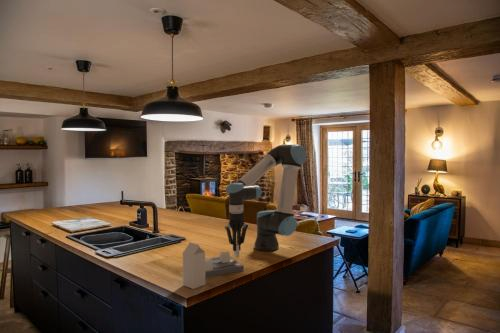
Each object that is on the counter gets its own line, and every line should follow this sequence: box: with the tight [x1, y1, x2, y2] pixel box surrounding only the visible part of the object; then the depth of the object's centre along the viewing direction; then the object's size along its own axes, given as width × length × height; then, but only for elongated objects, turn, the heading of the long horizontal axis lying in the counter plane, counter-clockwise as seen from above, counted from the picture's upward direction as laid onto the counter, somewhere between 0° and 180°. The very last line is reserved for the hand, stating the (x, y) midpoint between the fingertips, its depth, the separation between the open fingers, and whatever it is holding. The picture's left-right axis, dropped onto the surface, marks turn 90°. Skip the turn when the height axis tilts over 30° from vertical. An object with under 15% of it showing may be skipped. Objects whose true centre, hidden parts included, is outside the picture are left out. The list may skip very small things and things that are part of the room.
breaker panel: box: [205, 256, 245, 278], centre depth 181 cm, size 24×20×8 cm
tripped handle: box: [219, 250, 231, 263], centre depth 183 cm, size 4×4×5 cm
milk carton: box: [182, 241, 206, 290], centre depth 158 cm, size 7×7×19 cm
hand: (236, 256), depth 186 cm, fingers closed
